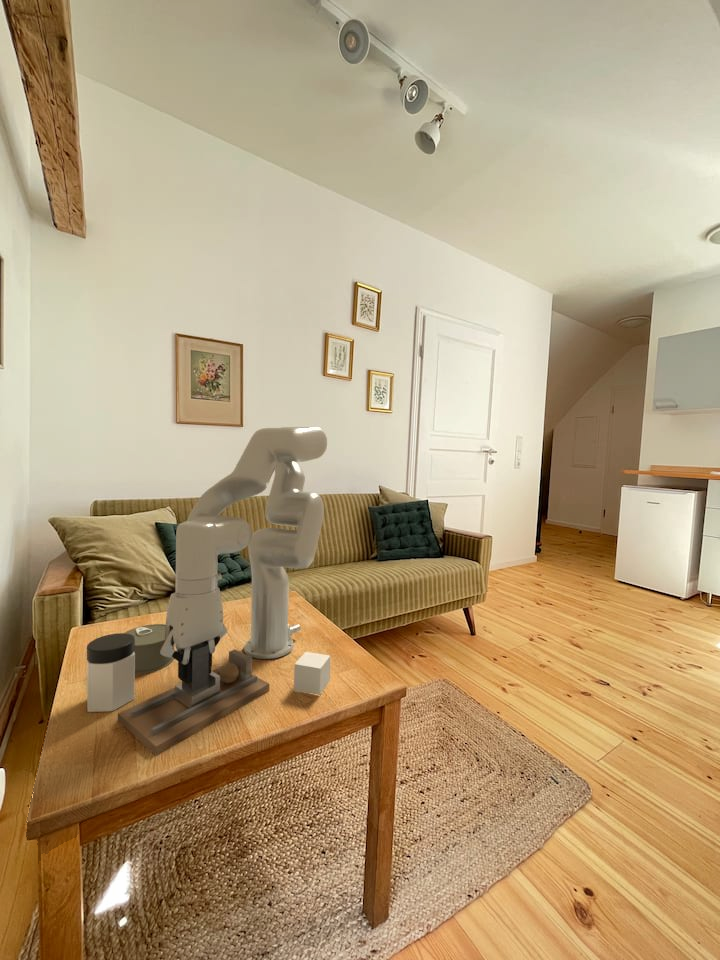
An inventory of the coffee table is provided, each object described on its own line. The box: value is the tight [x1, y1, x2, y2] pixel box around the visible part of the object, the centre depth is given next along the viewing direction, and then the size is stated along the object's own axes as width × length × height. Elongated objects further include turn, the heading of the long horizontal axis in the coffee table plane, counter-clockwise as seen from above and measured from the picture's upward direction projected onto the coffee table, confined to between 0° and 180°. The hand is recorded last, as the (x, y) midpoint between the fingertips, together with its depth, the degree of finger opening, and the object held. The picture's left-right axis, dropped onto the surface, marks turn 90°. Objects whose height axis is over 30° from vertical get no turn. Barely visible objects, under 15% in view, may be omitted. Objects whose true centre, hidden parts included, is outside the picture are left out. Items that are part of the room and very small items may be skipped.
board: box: [117, 649, 270, 756], centre depth 78 cm, size 24×14×6 cm, turn 144°
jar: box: [86, 632, 136, 713], centre depth 79 cm, size 9×8×12 cm
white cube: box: [293, 651, 331, 695], centre depth 86 cm, size 6×6×6 cm
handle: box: [174, 642, 220, 708], centre depth 77 cm, size 6×6×10 cm
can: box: [124, 623, 176, 676], centre depth 94 cm, size 12×12×7 cm
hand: (195, 675), depth 77 cm, fingers closed on handle, 3 cm apart
